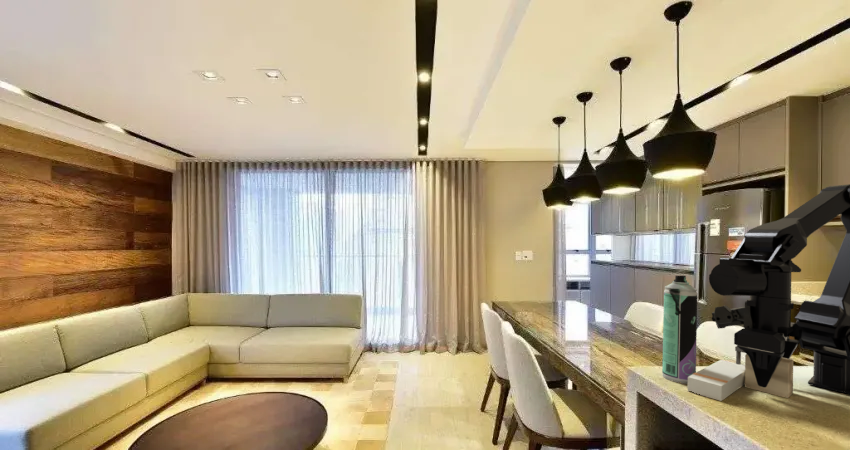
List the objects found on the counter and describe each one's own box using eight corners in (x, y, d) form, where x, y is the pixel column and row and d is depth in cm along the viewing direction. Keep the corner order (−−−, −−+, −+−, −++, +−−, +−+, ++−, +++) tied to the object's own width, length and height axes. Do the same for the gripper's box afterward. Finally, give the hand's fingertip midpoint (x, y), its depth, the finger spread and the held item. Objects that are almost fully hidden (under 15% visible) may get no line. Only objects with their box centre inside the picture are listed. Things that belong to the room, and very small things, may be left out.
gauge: (738, 379, 78) (739, 344, 78) (792, 393, 71) (793, 355, 72) (732, 383, 75) (732, 347, 75) (787, 398, 69) (788, 359, 69)
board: (720, 371, 82) (720, 358, 82) (751, 379, 78) (751, 365, 78) (687, 391, 71) (687, 376, 71) (721, 401, 67) (721, 385, 67)
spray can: (697, 385, 73) (699, 277, 74) (662, 379, 76) (664, 275, 76) (694, 377, 78) (696, 275, 78) (661, 371, 81) (664, 273, 81)
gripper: (731, 287, 85) (730, 360, 85) (701, 293, 74) (699, 377, 73) (802, 294, 76) (801, 376, 76) (780, 302, 65) (778, 399, 64)
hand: (768, 381), depth 73 cm, fingers open, 9 cm apart
